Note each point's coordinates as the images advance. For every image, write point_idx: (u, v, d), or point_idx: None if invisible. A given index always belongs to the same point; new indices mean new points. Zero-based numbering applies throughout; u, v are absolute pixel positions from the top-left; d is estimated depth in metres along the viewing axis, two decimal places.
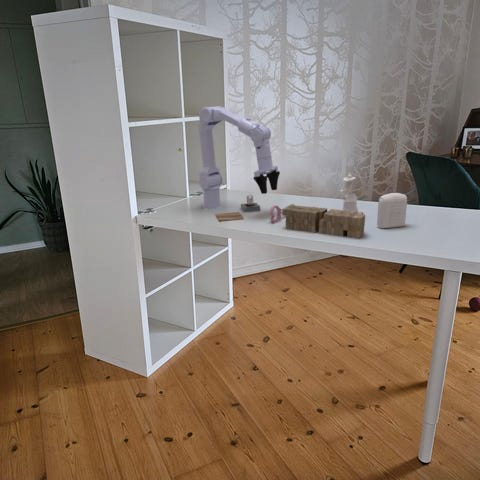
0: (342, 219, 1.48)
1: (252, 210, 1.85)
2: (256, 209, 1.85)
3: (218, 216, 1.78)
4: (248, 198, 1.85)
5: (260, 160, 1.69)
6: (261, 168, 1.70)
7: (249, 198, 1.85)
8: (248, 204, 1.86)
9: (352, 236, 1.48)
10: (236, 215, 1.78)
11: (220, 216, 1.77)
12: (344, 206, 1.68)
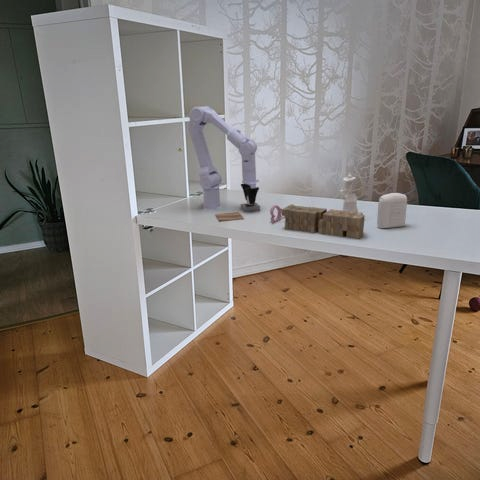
0: (341, 220, 1.48)
1: (252, 210, 1.85)
2: (256, 209, 1.85)
3: (218, 216, 1.78)
4: (248, 198, 1.85)
5: (250, 172, 1.80)
6: (250, 180, 1.81)
7: None
8: (248, 204, 1.86)
9: (351, 236, 1.48)
10: (236, 215, 1.78)
11: (220, 216, 1.77)
12: (344, 206, 1.68)
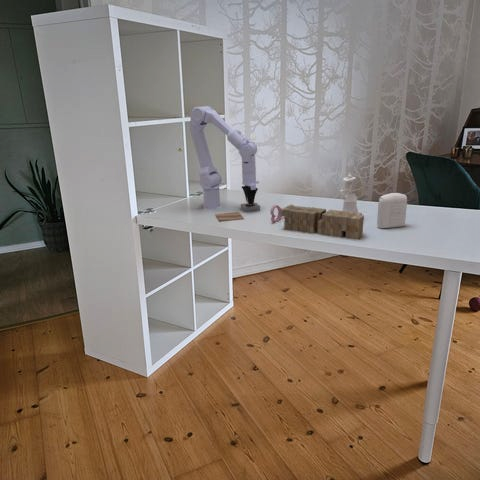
0: (340, 220, 1.47)
1: (252, 210, 1.85)
2: (256, 209, 1.85)
3: (218, 216, 1.78)
4: None
5: (250, 174, 1.81)
6: (250, 181, 1.82)
7: None
8: (248, 204, 1.86)
9: (350, 237, 1.47)
10: (236, 215, 1.78)
11: (220, 216, 1.77)
12: (344, 206, 1.68)
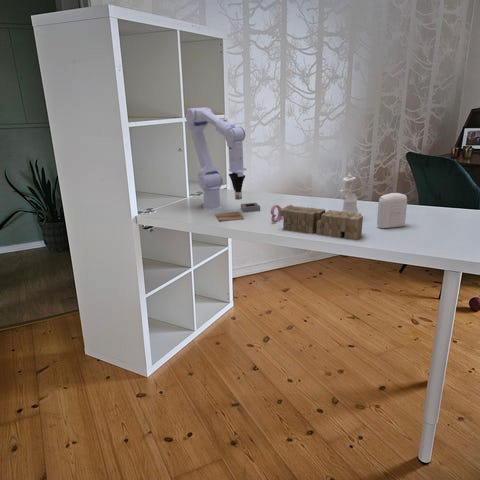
0: (339, 220, 1.47)
1: (252, 210, 1.85)
2: (256, 209, 1.85)
3: (218, 216, 1.78)
4: None
5: (237, 160, 1.72)
6: (237, 168, 1.73)
7: None
8: (236, 193, 1.78)
9: (349, 237, 1.47)
10: (236, 215, 1.78)
11: (220, 216, 1.77)
12: (344, 206, 1.68)
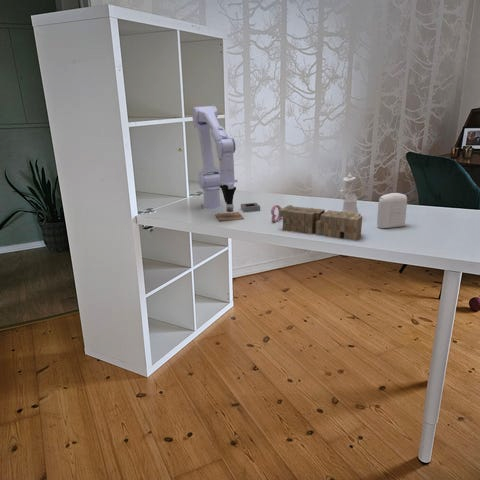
0: (338, 221, 1.47)
1: (252, 210, 1.85)
2: (256, 209, 1.85)
3: (218, 216, 1.78)
4: None
5: (228, 172, 1.69)
6: (228, 180, 1.70)
7: None
8: (228, 205, 1.75)
9: (349, 238, 1.46)
10: (236, 215, 1.78)
11: (220, 216, 1.77)
12: (344, 206, 1.68)
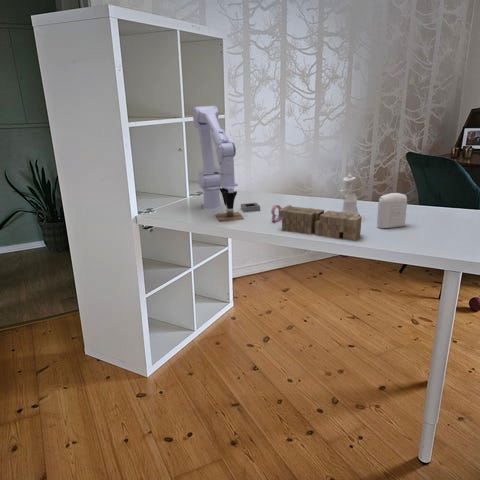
0: (338, 221, 1.46)
1: (252, 210, 1.85)
2: (256, 209, 1.85)
3: (218, 216, 1.78)
4: None
5: (228, 176, 1.70)
6: (228, 184, 1.71)
7: None
8: (228, 210, 1.76)
9: (348, 238, 1.46)
10: (236, 215, 1.78)
11: (220, 216, 1.77)
12: (344, 206, 1.68)
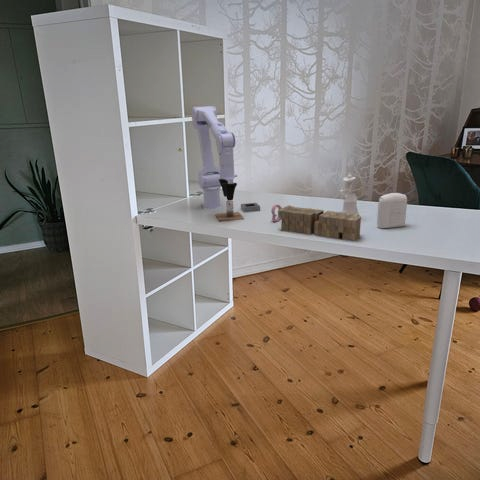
0: (337, 221, 1.46)
1: (252, 210, 1.85)
2: (256, 209, 1.85)
3: (218, 216, 1.78)
4: (228, 204, 1.75)
5: (227, 167, 1.69)
6: (227, 175, 1.70)
7: (229, 204, 1.75)
8: (228, 210, 1.76)
9: (347, 238, 1.46)
10: (236, 215, 1.78)
11: (220, 216, 1.77)
12: (344, 206, 1.68)
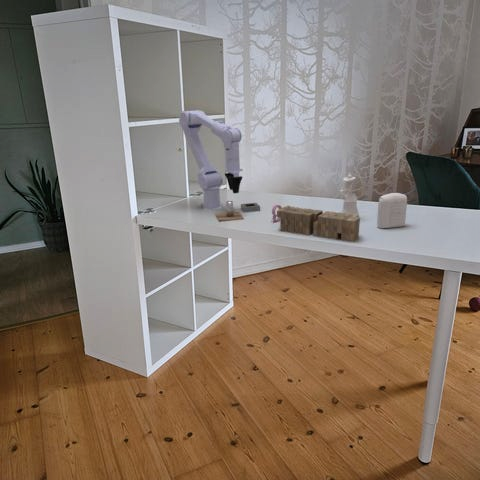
0: (336, 222, 1.45)
1: (252, 210, 1.85)
2: (256, 209, 1.85)
3: (218, 216, 1.78)
4: (228, 204, 1.75)
5: (233, 161, 1.76)
6: (233, 169, 1.77)
7: (229, 204, 1.75)
8: (228, 210, 1.76)
9: (346, 239, 1.45)
10: (236, 215, 1.78)
11: (220, 216, 1.77)
12: (344, 206, 1.68)
